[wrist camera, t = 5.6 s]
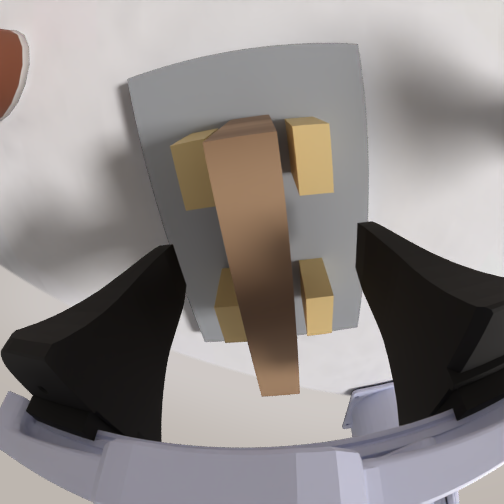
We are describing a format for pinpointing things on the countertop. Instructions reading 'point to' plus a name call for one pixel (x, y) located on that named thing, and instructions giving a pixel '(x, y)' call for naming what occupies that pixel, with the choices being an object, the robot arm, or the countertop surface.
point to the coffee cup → (12, 69)
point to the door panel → (257, 244)
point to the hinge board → (292, 163)
